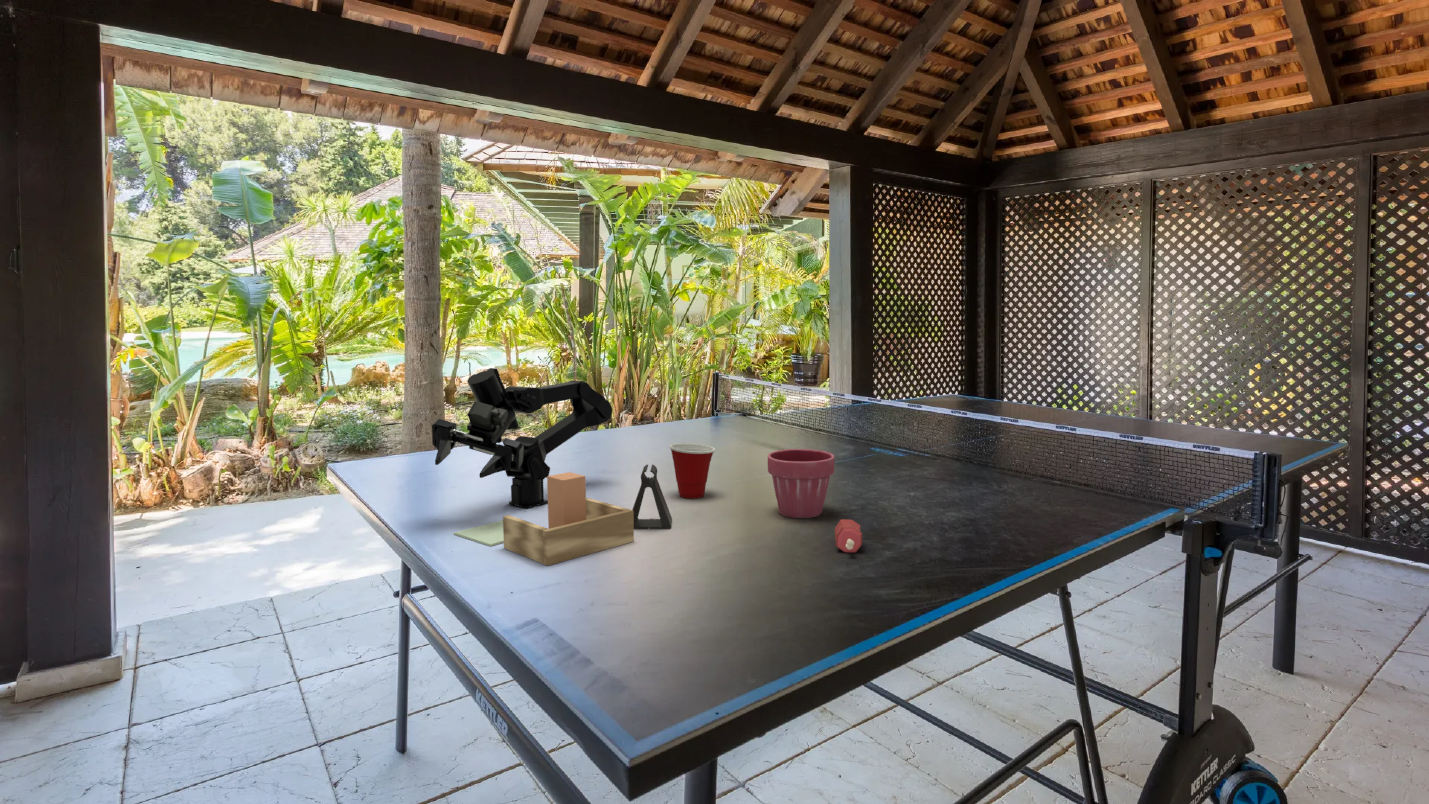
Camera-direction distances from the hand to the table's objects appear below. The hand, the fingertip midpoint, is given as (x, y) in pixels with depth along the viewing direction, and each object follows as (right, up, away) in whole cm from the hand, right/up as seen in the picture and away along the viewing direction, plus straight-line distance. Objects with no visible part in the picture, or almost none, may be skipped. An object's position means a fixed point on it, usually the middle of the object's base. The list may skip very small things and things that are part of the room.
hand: (458, 469), depth 149 cm
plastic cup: (+45, -9, +32) cm, 55 cm away
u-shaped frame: (+22, -14, -5) cm, 27 cm away
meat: (+75, -14, -8) cm, 76 cm away
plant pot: (+68, -11, +16) cm, 71 cm away
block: (+22, -14, -5) cm, 27 cm away
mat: (+8, -13, +1) cm, 15 cm away
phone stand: (+37, -12, +7) cm, 39 cm away
